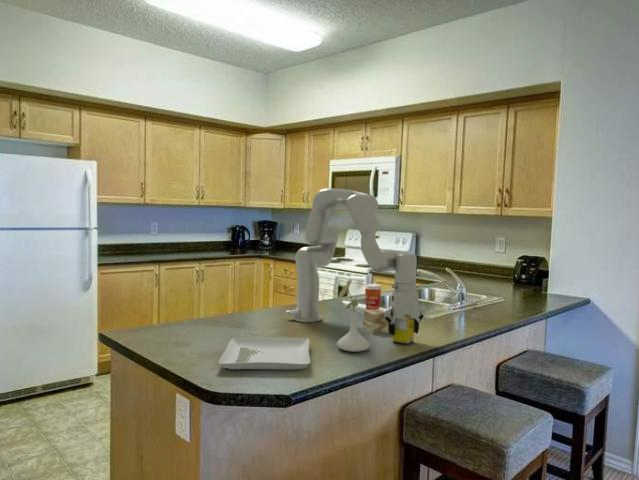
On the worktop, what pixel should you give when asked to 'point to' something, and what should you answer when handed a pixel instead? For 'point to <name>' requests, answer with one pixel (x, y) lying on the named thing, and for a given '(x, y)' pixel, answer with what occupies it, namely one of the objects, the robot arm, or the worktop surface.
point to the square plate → (268, 353)
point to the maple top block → (375, 316)
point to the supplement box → (404, 330)
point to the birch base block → (375, 327)
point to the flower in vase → (352, 328)
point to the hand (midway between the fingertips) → (403, 333)
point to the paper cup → (373, 296)
